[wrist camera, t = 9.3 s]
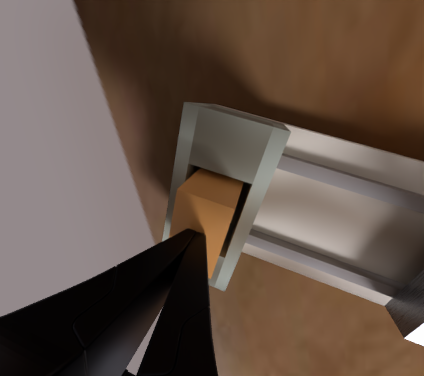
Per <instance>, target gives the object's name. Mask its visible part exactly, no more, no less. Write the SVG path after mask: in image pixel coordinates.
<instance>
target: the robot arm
mask: <svg viewBox="0 0 424 376" xmlns="http://www.w3.org/2000/svg"><path fill="white" fill-rule="evenodd" d="M162 307H163V308H162ZM161 309H162V311H161V313H160V316H159V319H158V321H157V323H156V326H155V329H154V331H153V334H152V337H151V339H150V341H149V345H148V346H147V349H146V352H145V354H144V357H143V359H142V362H141V364H140V367H139V370H138V372H137V375H136V376H218V372H217V366H216V360H215V353H214V346H213V339H212V328H211V315H210V299H209V281H208V262H207V243H206V235H205V234H203V233H200V232H196V231H195V230H192V229H190V228H187V229H185V230H183V231H181V232H179V233H178V234H176V235H174V236H172V237H170V238H168V239H166V240H164V241H162V242H160V243H158V244H157V245H155V246H153V247H151V248H149V249H147V250H145V251H143V252H141V253H139V254H137V255H136V256H134V257H132V258H130V259H128V260H126V261H124V262H122V263H120V264H118V265H117V266H116V267H115V266H114V267H113V268H110V269H109V270H107V271H105V272H103V273H101V274H99V275H97V276H95V277H93V278H91V279H89V280H86V281H84V282H82V283H80V284H77V285H76V286H73V287H71V288H69V289H67V290H64V291H61V292H59V293H57V294H54V295H52V296H50V297H47V298H45V299H43V300H40V301H38V302H36V303H33V304H31V305H28V306H26V307H24V308H21V309H19V310H16V311H14V312H12V313H9V314H7V315H4V316H1V317H0V376H135V375H134V374H132V373H130V372H128V370H127V369H126V367H127V365H128V364H129V362H130V360H131V359H132V357H133V355H134V354H135V352H136V351H137V349H138V347H139V346H140V344H141V342H142V341H143V339H144V337H145V336H146V334H147V332H148V330H149V329H150V327H151V325H152V324H153V322H154V320H155V319H156V317H157V315H158V314H159V312H160V310H161Z"/></svg>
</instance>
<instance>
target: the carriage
mask: <svg viewBox="0 0 424 376" xmlns="http://www.w3.org/2000/svg"><path fill="white" fill-rule="evenodd" d="M385 307H386V309H387V310H388V312H389V314H390V315H391V317H392V319H393V320H394V322H395V324H396V325H397V327H398V329H399V330H400V332H401V334H402V335H403V337H404V338H405V339H407V340H410V341H412V342H415V343H417V344H420V345H422V346H424V269H423V270H422V271H421V272H420V273H419V274H418V275H417V276H416V277H415V278H413V279H412V280H411V281H410V282H409V283H408V284H407V285H406V286H405V287H404V288H403V289H402V290H401V291H400V292H399V293H397V294H396V295H395V296H394V297H393V298H392V299H391V300H390V301H389V302H388V303H387V304H386V305H385Z"/></svg>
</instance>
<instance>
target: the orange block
mask: <svg viewBox="0 0 424 376" xmlns="http://www.w3.org/2000/svg"><path fill="white" fill-rule="evenodd" d="M243 183H244V181H241V180H237V179H234V178H231V177H228V176H225V175H222V174H219V173H216V172H213V171H210V170H207V169H204V168H200V169H199V170H197V171H196V172H195V173H194V174H193V175H192V176H191V177H190V178H189V179H188V180H186V181H185V182H184V183H183V184H182V185H181V186H180V187H179V188H178V189H177V192H176V198H175V204H174V210H173V216H172V221H171V227H170V233H169V238H170V237H172V236H174V235H176V234H178V233H179V232H181V231H183V230H185V229H187V228H190V229H192V230H195V231H196V232H200V233H203V234H205V235H206V243H207V262H208V278H210V279H211V277H212V274H213V272H214V269H215V266H216V263H217V260H218V257H219V254H220V252H221V249H222V246H223V243H224V240H225V237H226V234H227V232H228V229H229V226H230V223H231V220H232V217H233V214H234V211H235V208H236V205H237V202H238V199H239V196H240V192H241V189H242V186H243Z"/></svg>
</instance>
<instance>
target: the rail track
mask: <svg viewBox="0 0 424 376" xmlns="http://www.w3.org/2000/svg"><path fill="white" fill-rule="evenodd" d="M200 168H204V169H207V170H210V171H213V172H216V173H219V174H222V175H225V176H228V177H231V178H234V179H237V180H241V181H244V183H243V186H242V189H241V192H240V196H239V199H238V202H237V205H236V208H235V211H234V214H233V217H232V220H231V223H230V226H229V229H228V232H227V234H226V237H225V240H224V243H223V246H222V249H221V252H220V254H219V257H218V260H217V263H216V266H215V269H214V272H213V274H212V277H211V279H210V278H208V281H209V285H210V286H213V287H215V288H218V289H220V290H222V291H225V290H226V287H227V285H228V283H229V280H230V278H231V275H232V273H233V271H234V268H235V266H236V263H237V261H238V259H239V256H240V254H241V252H244V253H247V254H249V255H252V256H255V257H257V258H260V259H262V260H265V261H268V262H270V263H273V264H276V265H278V266H281V267H283V268H286V269H289V270H291V271H294V272H297V273H299V274H302V275H304V276H307V277H310V278H312V279H315V280H318V281H320V282H323V283H325V284H328V285H331V286H333V287H336V288H339V289H341V290H344V291H346V292H349V293H352V294H354V295H357V296H360V297H362V298H365V299H367V300H370V301H373V302H375V303H378V304H381V305H383V306H385V305H386V304H387V303H388V302H389V301H390V300H391V299H392V298H393V297H394V296H395V295H396V294H397V293H399V292H400V291H401V290H402V289H403V288H404V287H405V286H406V285H407V284H408V283H409V282H410V281H411V280H412V279H413V278H415V277H416V276H417V275H418V274H419V273H420V272H421V271H422V270H423V269H424V161H421V160H417V159H414V158H410V157H406V156H403V155H399V154H396V153H392V152H388V151H385V150H381V149H377V148H374V147H370V146H366V145H363V144H359V143H356V142H352V141H348V140H345V139H341V138H337V137H334V136H330V135H326V134H323V133H319V132H315V131H312V130H308V129H305V128H301V127H297V126H294V125H290V124H286V123H283V122H279V121H275V120H272V119H268V118H264V117H261V116H257V115H254V114H250V113H246V112H243V111H239V110H235V109H232V108H228V107H224V106H221V105H217V104H208V103H193V102H184V105H183V111H182V118H181V124H180V131H179V137H178V143H177V150H176V156H175V163H174V169H173V175H172V182H171V188H170V195H169V201H168V208H167V214H166V220H165V227H164V233H163V240H162V241H164V240H166V239H168V238H169V233H170V227H171V221H172V216H173V210H174V204H175V198H176V192H177V189H178V188H179V187H180V186H181V185H182V184H183V183H184V182H185V181H186V180H188V179H189V178H190V177H191V176H192V175H193V174H194V173H195V172H196V171H197V170H199V169H200Z"/></svg>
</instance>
